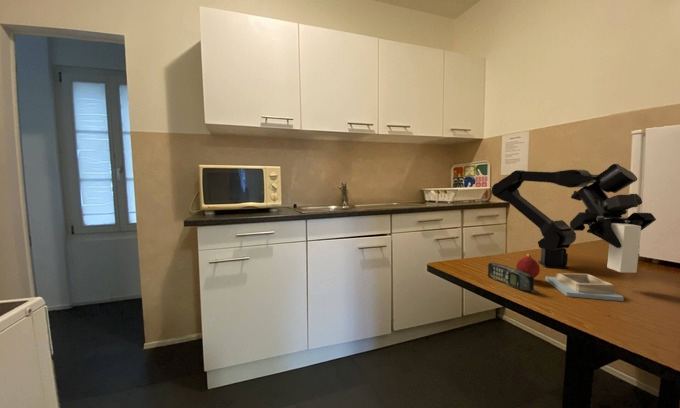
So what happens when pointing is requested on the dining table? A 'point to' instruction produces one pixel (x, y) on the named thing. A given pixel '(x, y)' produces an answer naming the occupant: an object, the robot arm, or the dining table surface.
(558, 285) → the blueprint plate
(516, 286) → the mobile phone
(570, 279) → the socket collar
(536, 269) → the onion
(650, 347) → the dining table surface
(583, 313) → the dining table surface
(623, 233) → the block
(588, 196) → the robot arm
